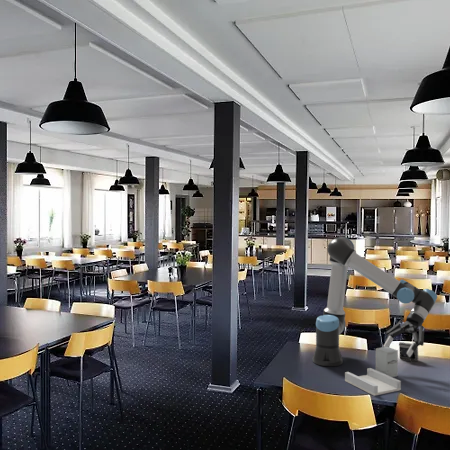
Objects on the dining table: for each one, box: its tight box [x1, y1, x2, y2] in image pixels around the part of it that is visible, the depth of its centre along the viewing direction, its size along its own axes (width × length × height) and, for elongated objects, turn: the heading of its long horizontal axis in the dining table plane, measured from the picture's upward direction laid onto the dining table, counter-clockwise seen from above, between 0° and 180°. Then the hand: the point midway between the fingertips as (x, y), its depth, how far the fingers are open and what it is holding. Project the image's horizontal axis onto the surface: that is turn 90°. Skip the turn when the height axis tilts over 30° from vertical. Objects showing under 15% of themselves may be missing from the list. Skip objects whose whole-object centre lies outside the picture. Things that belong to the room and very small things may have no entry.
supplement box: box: [375, 346, 399, 378], centre depth 219 cm, size 7×7×13 cm
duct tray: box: [344, 367, 402, 397], centre depth 206 cm, size 19×15×4 cm
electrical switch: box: [398, 341, 419, 363], centre depth 241 cm, size 9×5×9 cm, turn 57°
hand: (396, 351), depth 220 cm, fingers open, 13 cm apart
